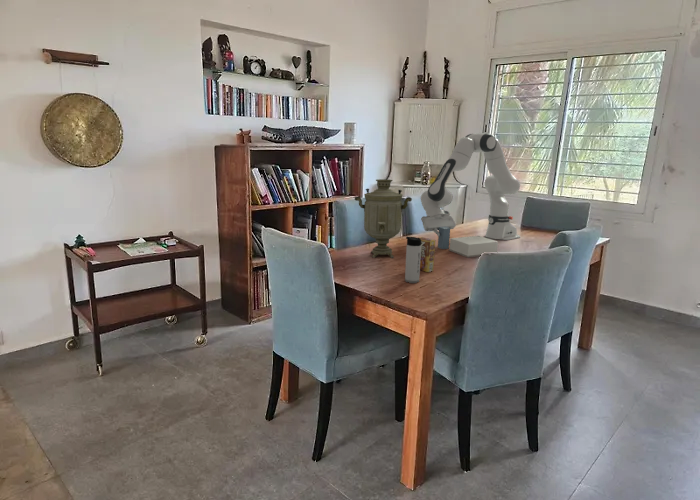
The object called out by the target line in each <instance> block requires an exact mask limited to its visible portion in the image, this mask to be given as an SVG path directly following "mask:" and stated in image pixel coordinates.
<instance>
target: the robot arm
mask: <svg viewBox="0 0 700 500" xmlns="http://www.w3.org/2000/svg"><path fill="white" fill-rule="evenodd" d="M474 153H483V156H484V160H485V162H486V163H485V164H486V168H487V170H488V172H489V173H490V174H492V175H488V176H487V177H485V180H484V182H483V186H484V189H485V190H486V191H487V193H488V196H489V201H490V202H489V203H490V205H489V206H490V207H489V214H488V224H487V227H486V228H487V229H486V232H485V234H484V235H485V236H484V237H485V238H488V239H491V240H504V241H509V240H514V239H520V238H521V235H520V234H518V230H517V227H516V226H515V225H514V224H513V223H512V222H511V221H510V220H513V219H514V218H513V216H512V215H511V216H509V208H510V207H509V206H510V203H509V202H508V200H507V198H506V196H509V195H511V196H512V195H515V194H517V193H518V192H519V191H520V188H521V183H520V180H519V179H518V178H516V177H515V176H514V174H512V171H511V169H509V167H508V165H507V161H506V157H505V155H504V150H503V148H502V145H501V143H500V141H499V139H498V138H496V136H495V135H493V134H492V133H488V132H486V133H485V132H479V133H469V134H467V135H466V136H465V137H461V138H460V139H459V140H458V141H457V143H456V144H455V146H454V148H453V151H452V153H451V154H450V156H449V158H448V159H447V160H446V161H445V163H444V164H443V166H442V167H441V169H440V170H439V172H438V174H437V176H436V177H435V180H434V181H433V182H432V183H431V184H430V185H429V186H428V189H427V190H425V191H424V192H422V194H421V196H420V202H421V205H422V208H423V210H424V211H425V214H426V215H425V216H424V215H423V216H422V217H421V219H420V221H421V222H422V226H423V229H424V231H425V232H434V233H435V235H437V237H438V236H441V233H440V232H439V227H448V228H450V230H453V229H454V228H455V227H456V226H457V224H456V222H455V221H456V220H455V219H454V218H453V216H452V215H451V212H450V211H448V210H444V209H441V208H444V207H446V206H449V205H450V204H451V203H452V201H453V200H454V198H453V197H454V196H453V194H452V192H451V191H450V190H449V189H447V188H446V183H447V182H448V180H449V178H450V177H451V175H452V173H454V172H460V171H463V170H465V169H466V168H467V166H468V165H469V163H470V161H471V159H472V156H473V154H474ZM505 195H506V196H505Z"/></svg>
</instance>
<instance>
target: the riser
mask: <svg viewBox="0 0 700 500" xmlns="http://www.w3.org/2000/svg"><path fill="white" fill-rule="evenodd" d="M498 247H499V241H497V240H496V239H492V238H488V237H485V236H481V235H472V236H470V235H469V236H461V237H451V238H450V239H449V249H448V251H450V252H452V253H455V254H458V255H460V256H463V257H464V258H465V257H466V258H468V259H469V258H474V257H475V258H477V257H481V256H480V255H481V254H482V253H484V252H497V253H498Z"/></svg>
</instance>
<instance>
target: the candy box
mask: <svg viewBox="0 0 700 500" xmlns="http://www.w3.org/2000/svg"><path fill="white" fill-rule="evenodd" d="M417 238H420V239H421V258H420V271H421V272H422V271H423V272H425V273H430V272H431V271H432V272H434V266H435V265H434V264H435V263H434V262H435V249H436V240H435V239H431V238H428V237H423V236H419V237H417Z"/></svg>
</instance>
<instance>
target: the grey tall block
mask: <svg viewBox="0 0 700 500" xmlns="http://www.w3.org/2000/svg"><path fill="white" fill-rule="evenodd" d="M438 232H440V233H441V236H437V238H438V239H437V248H439V249H441V250H447V249H448V250H449V249H450V237H451V229H450V228H448V227H439V230H438Z"/></svg>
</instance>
